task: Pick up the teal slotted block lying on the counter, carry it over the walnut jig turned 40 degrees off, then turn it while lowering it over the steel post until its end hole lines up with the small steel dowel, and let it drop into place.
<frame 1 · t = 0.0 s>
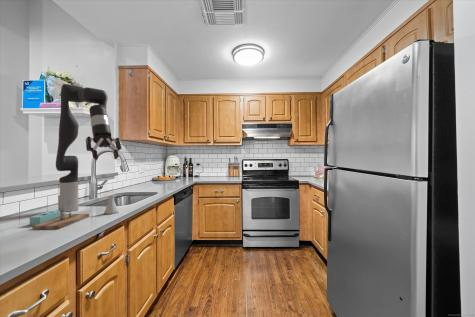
hand: (106, 158, 111), 31 cm above the countertop, tool tilted 20°, fingers open, 8 cm apart
flask: (111, 213, 140), on the countertop
jig: (63, 222, 121), on the countertop
teal slotted block: (43, 222, 121), on the countertop
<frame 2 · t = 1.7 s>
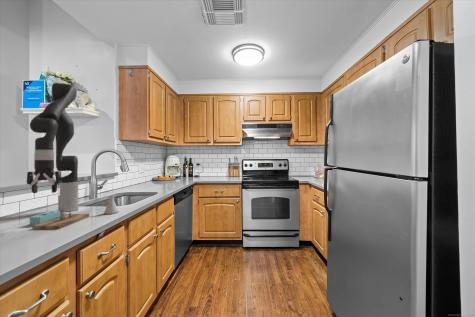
hand: (44, 192, 118), 15 cm above the countertop, tool pointing down, fingers open, 8 cm apart
nothing on the countertop moved.
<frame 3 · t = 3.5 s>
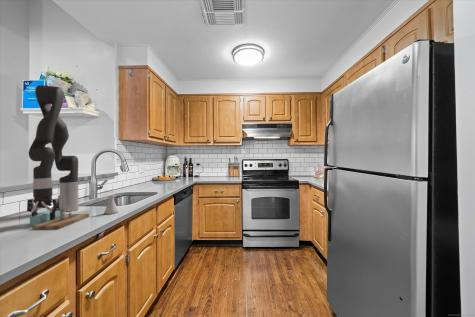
hand: (43, 219, 121), 1 cm above the countertop, tool pointing down, fingers open, 8 cm apart
nothing on the countertop moved.
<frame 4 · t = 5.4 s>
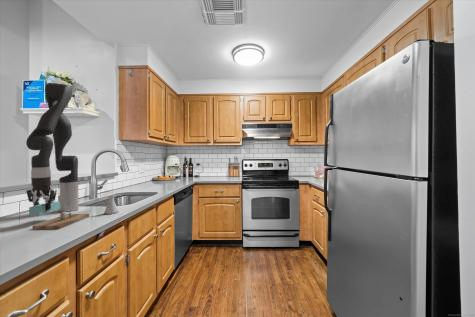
hand: (42, 210, 121), 6 cm above the countertop, tool pointing down, fingers closed on teal slotted block, 5 cm apart
teal slotted block: (42, 212, 122), point 5 cm above the countertop, touching gripper
everything else where it was.
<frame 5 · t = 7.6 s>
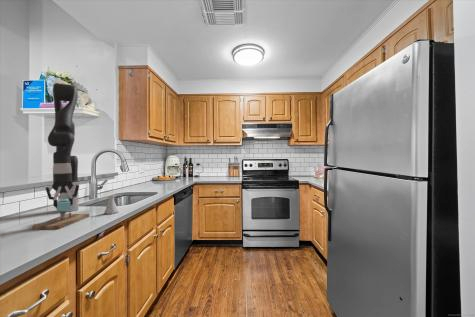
hand: (63, 206, 121), 8 cm above the countertop, tool pointing down, fingers closed on teal slotted block, 5 cm apart
teal slotted block: (63, 209, 121), point 6 cm above the countertop, touching gripper
everything else where it was.
when the fingers open (3 cm above the countertop, at t = 10.0 s): teal slotted block stays where it is, resting on jig.
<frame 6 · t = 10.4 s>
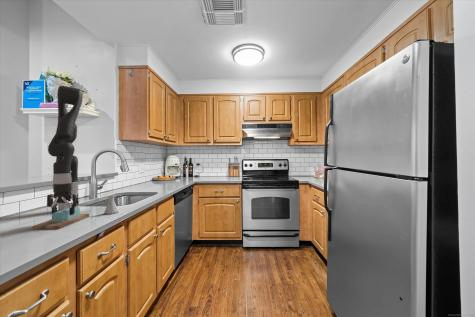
hand: (63, 215, 121), 4 cm above the countertop, tool pointing down, fingers open, 8 cm apart
teal slotted block: (64, 219, 121), point 1 cm above the countertop, touching jig
everything else where it was.
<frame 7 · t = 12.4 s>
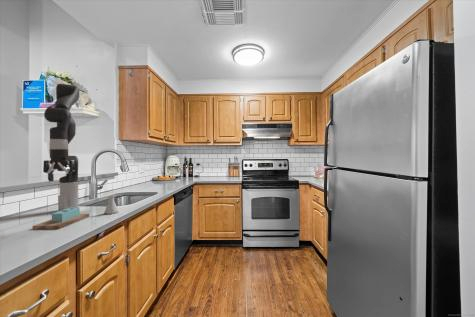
hand: (59, 181, 121), 21 cm above the countertop, tool pointing down, fingers open, 8 cm apart
nothing on the countertop moved.
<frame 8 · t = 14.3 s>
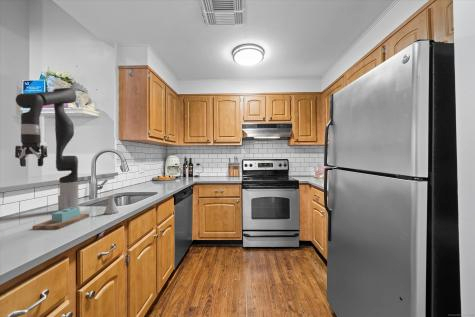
hand: (31, 166, 122), 28 cm above the countertop, tool pointing down, fingers open, 8 cm apart
nothing on the countertop moved.
at the end: teal slotted block 0.5 cm off-centre on the jig, point 1.5 cm above the jig's base; teal slotted block tilted 0°; the gripper is holding nothing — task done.
